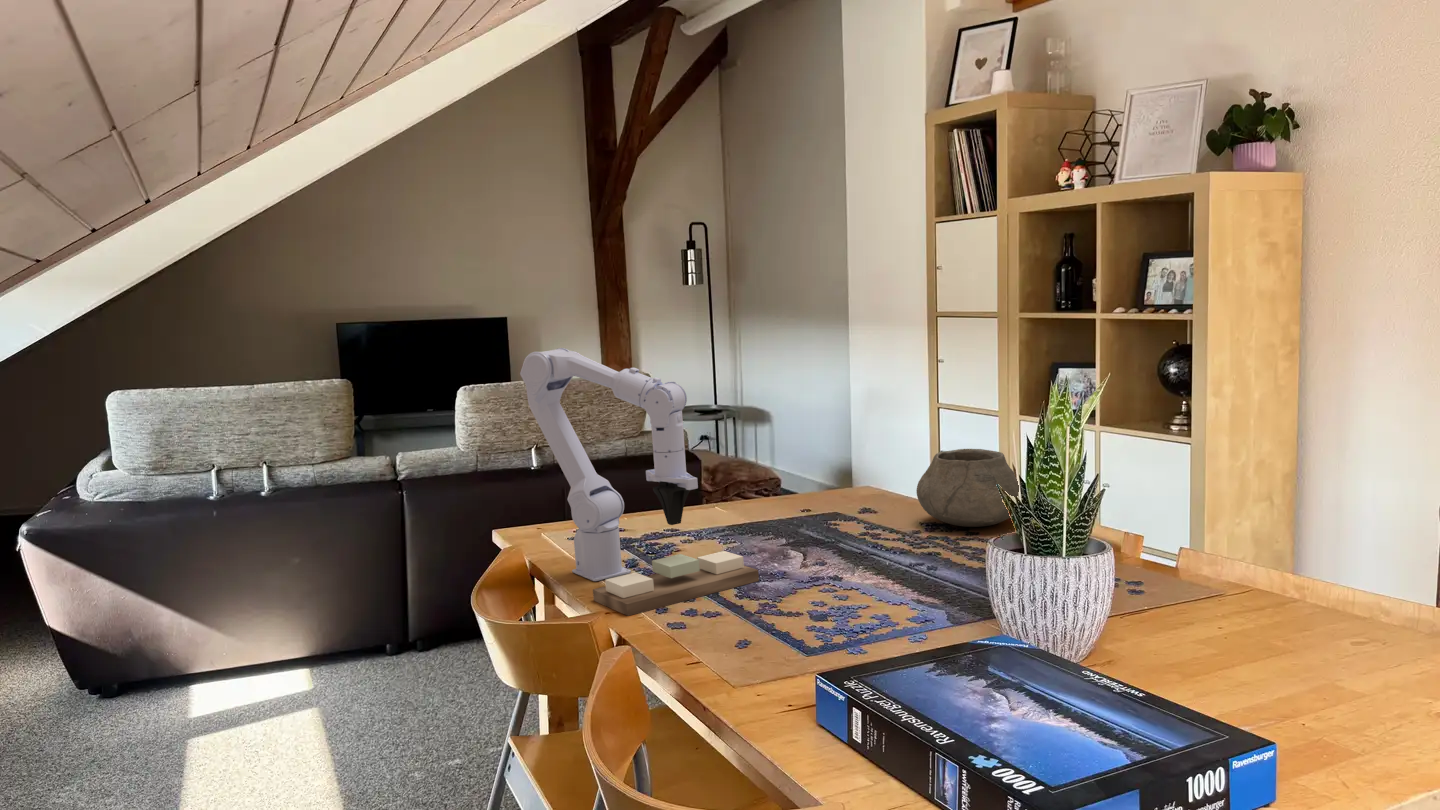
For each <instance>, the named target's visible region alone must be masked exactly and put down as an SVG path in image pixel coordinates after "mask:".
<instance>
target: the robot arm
mask: <svg viewBox="0 0 1440 810" xmlns="http://www.w3.org/2000/svg"><path fill="white" fill-rule="evenodd" d="M519 375H520V377H521V379H522V380H523V383H524V385H525V389H526V397H527V403H528V406H529V409H530V411H531V413H532V415H533V417H534V419H535V421H536V423H537V425H538V427H539V428H540V431H541V433H542V434H543V436H544V439H545V440H546V442H547V443H548V446H549V448H550V449H551V451H552V454H553V455H554V457H555V459H556V461H557V463H558V465H559V467H560V468H561V471H562V472H563V475H564V477H565V479H566V480H567V482H568V484H569V487H570V489H569V491H568V496H567V502H568V504H569V506H570V510H571V511H570V513H571V519H572V521H573V523H574V525H575V526H576V527H577V528H578V529H577V531H575V535H574V537H573V545H574V546H573V547H574V558H575V568H574V569H573V568H572V570H571V572H572V573H573V574H576V575H578V576H580V577H583V578H585V579H588V580H590V581H593V582H598V581H602V580H606V579H610V578H614V577H618V576H623V575H627V574H631V573H632V570H631V569H628V568H626V567H624V566H622V565H623V563H622V552H621V541H620V540H621V539H620V527H619V525H620V518H621V517H622V515H623V514H624V510H625V502H624V499H623V497H622V495H621V494H620V493H619V492H618V491H617V490H616V489H614V488H613V486H612V484H611V483H610V481H609V480H608V479H606V478H605V477H603V476H601V475H599V474H598V473H597V472H596V470H595V467H594V465H593V464H592V462H591V460H590V458H589V456H588V454H587V452H586V450H585V448H584V446H583V445H582V443H581V441H580V439H579V437H578V435H577V433H576V432H575V430H574V428H573V425H572V424H571V422H570V420H569V418H568V416H567V414H566V412H565V409H564V408H563V406H562V404H561V398H562V395H563V393H564V391H565V390H566V388H567V386H568V385H569V384H570V382H571V380H572V379H573V377H576V378H580V379H583V380H585V381H588V382H591V383H594V384H598V385H600V386H602V387H606V388H609V389H611V391H612V393H613V395H614V397H615V398H616V399H619V400H621V401H624V402H627V403H629V404H631V405H634V406H635V407H639V408H642V409H643V410H644V411H645V412H646V414H647V415H648V417H649V419H650V425H651V438H652V439H651V440H652V451H653V452H652V453H653V464H654V466H653V467H654V468H653V469H647V470H645V478H646V481H647V482H656V483H657V482H658V483H659V484H658V485H657V486H654V487H652V491H653V493H654V494H655V495H656V497H657V499H658V501H659V503H660V505H661V508H662V510H663V513H664V516H665V520H666V523H667V525H670V526H674V525H678V524H682V519H683V511H684V507H685V503H686V501H687V498H688V496H689V493H690V491H692V490H696V489H698V488H699V485H698V484H699V483H698V477H695V476H693V475H691V474H690V473H688V472H687V465H686V463H687V462H686V448H685V447H686V446H685V435H684V433H685V432H684V421H683V420H684V419H683V410H684V409H685V408H686V405H687V401H688V398H687V397H688V396H687V393H686V391H685V388H683V387H682V385H680V384H679V383H677V382H676V381H667V382H665V383H663V382H662V378H659V377H657V376H655V377H651V376H648V375H646V374H643V373H640V369H639V368H636V367H630V368H623V369H622V370H620V371H617V370H615V369H613V368H610V367H609V366H606V365H604V364H602V363H600V362H598V361H595V360H593V359H591V358H589V357H587V356H585V355H582V354H581V353H579V352H578V351H574V350H569V349H567V348H566V347H565V348H564V347H558V348H556V349H551V350H545V351H532V352H529V354H528V355H527V356H526V357H525V358H524V360H523V364H522V367H521V370H520V372H519Z"/></svg>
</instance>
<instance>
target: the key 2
mask: <svg viewBox="0 0 1440 810" xmlns="http://www.w3.org/2000/svg"><path fill="white" fill-rule="evenodd" d="M696 559H698V560H699V568H700V569H702V570H705V571H708V572H711V573H714V574H720V573H724V572H728V571H732V570H736V569H739V568H743V567H744V566H745V563H744V556H743V555H739V554H736V553H732V552H729V551H725V550H722V551H718V552H714V553H710V554H706V555H702V556H697V558H696Z"/></svg>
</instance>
